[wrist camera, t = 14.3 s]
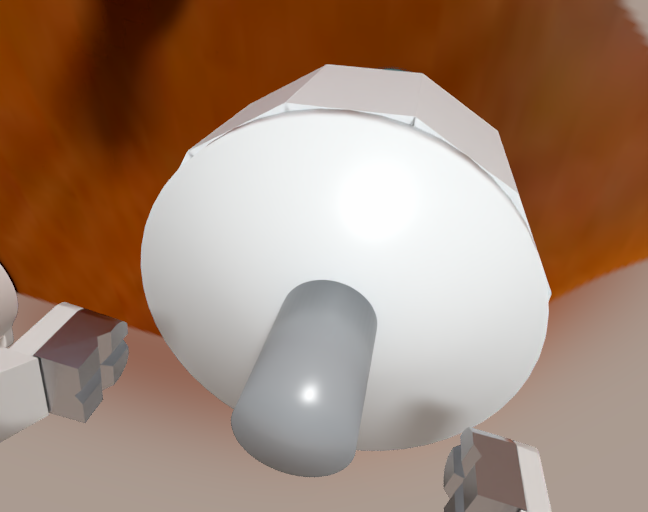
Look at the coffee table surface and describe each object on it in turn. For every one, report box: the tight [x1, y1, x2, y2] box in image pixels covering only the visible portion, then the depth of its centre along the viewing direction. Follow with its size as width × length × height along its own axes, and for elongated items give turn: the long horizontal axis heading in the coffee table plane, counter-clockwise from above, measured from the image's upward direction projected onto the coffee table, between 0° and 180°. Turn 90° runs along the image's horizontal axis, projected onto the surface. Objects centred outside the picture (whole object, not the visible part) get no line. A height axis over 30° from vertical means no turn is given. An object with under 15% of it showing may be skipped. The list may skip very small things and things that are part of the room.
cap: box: [141, 64, 552, 477], centre depth 14 cm, size 12×12×10 cm
